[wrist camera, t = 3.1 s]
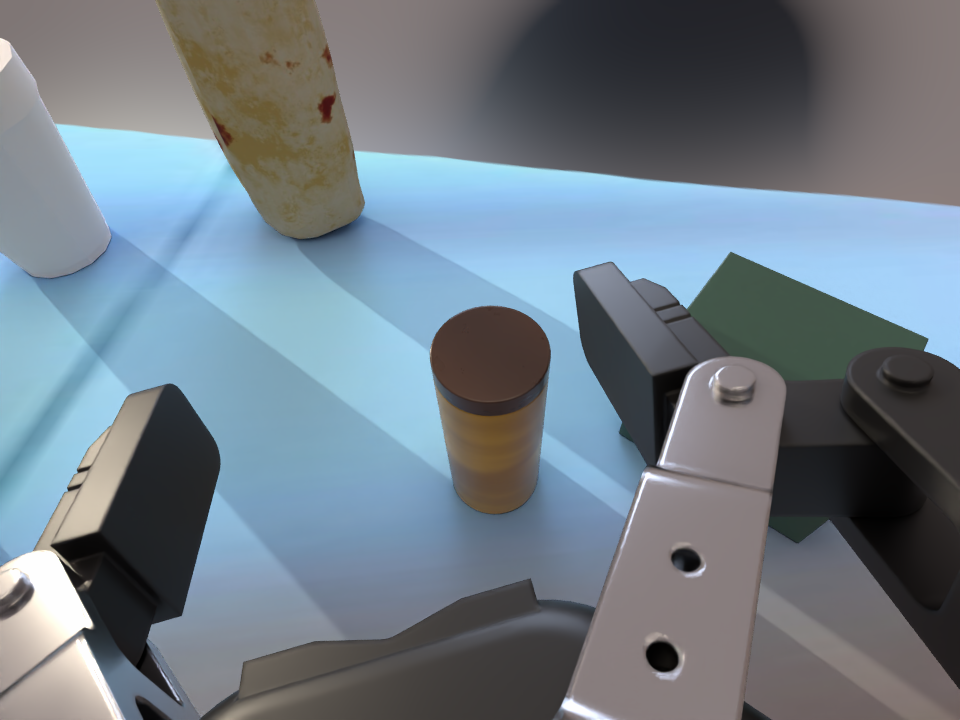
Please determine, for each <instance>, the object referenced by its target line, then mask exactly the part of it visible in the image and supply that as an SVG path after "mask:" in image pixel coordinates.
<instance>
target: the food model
mask: <svg viewBox="0 0 960 720" xmlns="http://www.w3.org/2000/svg"><path fill="white" fill-rule="evenodd" d="M155 1H156V4H157V6H158V8H159V11H160V13H161V16H162V18H163V21H164V23H165V25H166V28H167V30H168V33H169V35H170V38H171V40H172V42H173V45H174V47H175V49H176V52H177V54H178V56H179V59H180V61H181V63H182V66H183V68H184V70H185V72H186V75H187V77H188V79H189V82H190V84H191V86H192V88H193V90H194V92H195V95H196V97H197V99H198V101H199V103H200V105H201V107H202V110H203V112H204V114H205V116H206V118H207V120H208V122H209V124H210V127H211V129H212V130H213V132H214V135H215V137H216V139H217V141H218V143H219V145H220V147H221V149H222V151H223V153H224V154H225V156H226V158H227V160H228V162H229V164H230V166H231V168H232V169H233V171H234V172H235V174H236V176H237V177H238V179H239V181H240V182H241V184H242V185H243V187H244V188H245V189H246V191H247V192H248V194H249V196H250V198H251V200H252V202H253V204H254V205H255V207H256V208H257V210H258V211H259V213H260V214H261V216H262V217H263V219H264V220H265V222H266V223H268V224H269V225H270V226H271V227H273V228H274V229H275V230H276V231H278V232H279V233H280V234H282V235H285V236H289V237H294V238H298V239H305V238H314V237H318V236H321V235H323V234H326V233H328V232H331V231H333V230H335V229H337V228H340V227H342V226H344V225H347V224H349V223H351V222H352V221H354V220H356V219H357V218H358V217H359V216H360V214H361V212H362V210H363V208H364V204H365V201H364V197H363V194H362V191H361V187H360V184H359V179H358V174H357V167H356V161H355V155H354V149H353V144H352V141H351V136H350V132H349V128H348V124H347V120H346V117H345V113H344V109H343V106H342V102H341V98H340V94H339V90H338V86H337V81H336V77H335V72H334V67H333V63H332V59H331V55H330V51H329V47H328V43H327V39H326V36H325V32H324V29H323V25H322V22H321V18H320V15H319V11H318V8H317V5H316V2H315V0H155Z"/></svg>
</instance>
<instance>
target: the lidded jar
mask: <svg viewBox="0 0 960 720" xmlns="http://www.w3.org/2000/svg"><path fill="white" fill-rule="evenodd" d="M550 359H551V350H550V344H549V341H548V338H547V336H546V334H545V333H544V331H543V330H542V328H541V327H540V326H539V325H538V324H537V323H536V322H535V321H534V320H533V319H532V318H530V317H529V316H527V315H526V314H524V313H522V312H520V311H517V310H514V309H511V308H507V307H502V306H481V307H475V308H471V309H468V310H465V311H463V312H461V313H459V314H457V315H455V316H453V317H452V318H450V319H449V320H448V321H447V322H446V323H444V324H443V326H442V327H441V328H440V329H439V330H438V332H437V333H436V335H435V337H434V339H433V341H432V345H431V349H430V363H431V369H432V374H433V379H434V385H435V390H436V395H437V401H438V406H439V411H440V417H441V422H442V427H443V433H444V438H445V443H446V449H447V454H448V459H449V464H450V470H451V475H452V480H453V485H454V488H455V490H456V492H457V494H458V495H459V497H460V498H461V499H462V500H463V501H464V502H465V503H466V504H467V505H469V506H470V507H472V508H473V509H475V510H477V511H480V512H484V513H489V514H501V513H506V512H509V511H512V510H514V509H517V508H518V507H520V506H521V505H523V504H524V503H525V502H526V501H527V500H528V499H529V498H530V496H531V495H532V493H533V492H534V490H535V487H536V484H537V480H538V472H539V462H540V453H541V444H542V434H543V425H544V416H545V406H546V397H547V387H548V378H549V369H550Z"/></svg>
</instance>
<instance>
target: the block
mask: <svg viewBox="0 0 960 720" xmlns="http://www.w3.org/2000/svg"><path fill="white" fill-rule="evenodd" d="M687 310H688V312H689V313H690V314H691V317H694V318H695V319H696V320H697V321H698V322H699V323H700V324H701V325H702V326H703V327H704V328H705V329H706V330H707V331H708V332H709V334H710V335H711V336H712V337H713V338H714V339H715V340H716V341H717V342H718V343H719V344H720V345H721V346H722V347H723V348H724V349H725V350H726V351H727V352H728V353H729V354H730V356H733V357H744V358H749V359H753V360H757V361H759V362H762V363H764V364H766V365H768V366H770V367H772V368H773V369H774V370H776V371H777V372H778V373H779V374H780V375H781V376H782V378H783V380H789V381H805V380H825V379H844V378H845V373H846V369H847V366H848V363H849V362H850V361H851V359H852V358H853V357H855V356H856V355H858V354H860V353H862V352H864V351H867V350H870V349H875V348H881V347H903V348H911V349H917V350H921V351H924V349H925V346H926V344H927V342H928V338H926V337H924V336H921V335H919V334H917V333H914V332H912V331H910V330H908V329H905V328H903V327H901V326H898V325H896V324H894V323H892V322H889V321H887V320H885V319H883V318H880V317H878V316H876V315H873V314H871V313H869V312H867V311H864V310H862V309H860V308H857V307H855V306H853V305H851V304H848V303H846V302H844V301H842V300H839V299H837V298H835V297H832V296H830V295H828V294H826V293H823V292H821V291H819V290H816V289H814V288H812V287H810V286H807V285H805V284H803V283H801V282H798V281H796V280H794V279H791V278H789V277H787V276H785V275H782V274H780V273H778V272H776V271H773V270H771V269H769V268H766V267H764V266H762V265H760V264H757V263H755V262H753V261H750V260H748V259H746V258H744V257H741V256H739V255H737V254H735V253H732V252H730V253H729V254H728V256H727V257H726V258H725V260H724V261H723V262H722V264H721V265H720V266H719V268H718V269H717V270H716V271H715V273H714V274H713V275H712V277H711V278H710V279H709V281H708V282H707V283H706V285H705V286H704V287H703V289H702V290H701V291H700V293H699V294H698V295H697V297H696V298H695V299H694V301H693V302H692V303H691V304H690V306H689V307H688V308H687ZM619 434H621V435H622V436H624V437H626V438H627V439H629V440H631V441H632V442H634V441H633V439H632V438H631V436H630V434H629V433H628V431H627V429H626V427H625V426H624V424H623V422H622V425H621V428H620V431H619ZM827 520H829V518H828V517H769V523H768V525H769V526H770V527H772V528H774V529H775V530H777V531H779V532H780V533H782V534H783V535H785V536H787V537H788V538H790V539H792V540H793V541H795V542H796V543H799V542H800V541H802V540H803V539H804V538H806V537H807V536H808V535H809V534H811V533H812V532H813V531H815V530H816V529H817V528H818V527H820V526H821V525H822V524H824V523H825V522H826V521H827Z"/></svg>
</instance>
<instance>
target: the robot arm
mask: <svg viewBox="0 0 960 720" xmlns="http://www.w3.org/2000/svg"><path fill="white" fill-rule="evenodd" d="M573 283H574V291H575V299H576V307H577V315H578V323H579V330H580V338H581V343H582V347H583V350H584V353H585V356H586V359H587V361H588V364H589V366H590V367H591V369H592V371H593V373H594V374H595V376H596V378H597V379H598V381H599V383H600V385H601V386H602V388H603V390H604V391H605V393H606V395H607V397H608V398H609V400H610V402H611V403H612V405H613V407H614V409H615V410H616V412H617V414H618V415H619V417H620V419H621V421H622V422H623V424H624V426H625V427H626V429H627V431H628V433H629V434H630V436H631V438H632V439H633V441H634V443H635V445H636V446H637V448H638V450H639V451H640V453H641V455H642V457H643V458H644V460H645V462H646V463H647V466H646V468H645V469H644V471H643V474H642V476H641V479H640V481H639V484H638V487H637V490H636V493H635V496H634V499H633V502H632V505H631V508H630V511H629V513H628V516H627V519H626V522H625V525H624V528H623V531H622V534H621V537H620V540H619V543H618V545H617V548H616V551H615V554H614V557H613V560H612V563H611V566H610V569H609V572H608V575H607V577H606V580H605V583H604V586H603V589H602V592H601V595H600V598H599V601H598V604H597V606H596V608H594V607H591V606H589V605H584V604H580V603H575V602H571V601H561V600H537V599H536V595H535V592H534V588H533V585H532V581H531V578H530V579H527V580H523V581H520V582H517V583H513V584H510V585H506V586H503V587H499V588H496V589H493V590H489V591H486V592H482V593H479V594H475V595H472V596H468V597H465V598H462V599H459V600H458V601H456V602H454V603H452V604H451V605H449V606H447V607H445V608H444V609H442V610H440V611H438V612H436V613H435V614H433V615H431V616H429V617H428V618H426V619H424V620H422V621H421V622H419V623H417V624H415V625H413V626H412V627H410V628H408V629H406V630H405V631H403V632H401V633H399V634H397V635H396V636H393V637H391V638H388V639H381V640H346V641H314V642H311V643H307V644H304V645H300V646H297V647H294V648H290V649H287V650H283V651H280V652H276V653H273V654H270V655H266V656H263V657H259V658H256V659H252V660H249V661H246V662H243V668H242V675H241V681H240V688H239V690H238V691H236V692H234V693H233V694H231V695H230V696H229V697H227V698H226V699H224V700H223V701H221V702H220V703H219V704H217V705H216V706H215V707H213V708H212V709H211V710H210V711H209V712H208V713H206V714H205V715H204V716H203V717H202V718H201V717H200V716H199V714H198V713H197V711H196V710H195V708H194V706H193V705H192V703H191V701H190V700H189V698H188V697H187V695H186V693H185V692H184V690H183V689H182V687H181V685H180V684H179V682H178V681H177V679H176V677H175V676H174V674H173V673H172V671H171V669H170V668H169V666H168V665H167V663H166V661H165V660H164V658H163V657H162V655H161V653H160V652H159V650H158V649H157V647H156V646H155V645H154V644H153V643H152V642H151V641H150V640H149V639H148V638H147V637H148V634H149V631H150V627H151V624H155V623H158V622H162V621H165V620H169V619H172V618H176V617H179V616H182V613H183V609H184V605H185V601H186V598H187V594H188V590H189V586H190V582H191V578H192V575H193V571H194V567H195V563H196V559H197V555H198V552H199V548H200V544H201V540H202V536H203V532H204V529H205V525H206V521H207V517H208V513H209V509H210V505H211V502H212V498H213V494H214V490H215V486H216V482H217V479H218V475H219V471H220V454H219V450H218V447H217V444H216V442H215V440H214V438H213V437H212V435H211V434H210V432H209V431H208V429H207V428H206V426H205V425H204V423H203V422H202V421H201V419H200V418H199V416H198V415H197V413H196V412H195V410H194V409H193V407H192V406H191V404H190V403H189V401H188V400H187V398H186V397H185V396H184V394H183V393H182V391H181V390H180V389H179V388H178V387H177V386H175V385H174V384H165V385H162V386H158V387H154V388H151V389H147V390H144V391H140V392H136V393H133V394H130V395H129V396H127V398H126V399H125V401H124V403H123V405H122V407H121V409H120V411H119V413H118V415H117V417H116V419H115V420H114V422H113V424H112V426H109V427H108V428H107V429H106V430H105V432H104V433H103V434H102V435H101V436H100V437H99V438H98V439H97V440H96V441H95V442H94V443H93V444H92V445H91V446H90V447H89V448H88V450H87V452H86V454H85V456H84V457H83V459H82V461H81V463H80V465H79V467H78V468H77V471H78V473H77V474H74V476H73V478H72V480H71V481H70V483H69V485H68V487H67V489H68V492H65V493H64V494H63V496H62V498H61V500H60V502H59V504H58V505H57V507H56V509H55V511H54V513H53V515H52V517H51V518H50V520H49V522H48V524H47V526H46V528H45V530H44V531H43V533H42V535H41V537H40V539H39V541H38V542H37V544H36V546H35V548H34V550H33V552H30V553H27V554H24V555H21V556H19V557H17V558H14V559H13V560H11V561H9V562H7V563H5V564H4V565H2V566H1V567H0V720H771V719H770V718H768V717H767V716H765V715H764V714H762V713H761V712H759V711H758V710H756V709H755V708H753V707H752V706H750V705H749V704H747V703H746V702H745V701H744V696H745V689H746V682H747V674H748V667H749V660H750V653H751V645H752V638H753V631H754V624H755V617H756V609H757V602H758V595H759V588H760V580H761V573H762V566H763V559H764V552H765V544H766V537H767V530H768V523H769V517H828V518H829V519H830V520H831V521H832V523H833V524H834V525H835V527H836V528H837V529H838V531H839V532H840V533H841V535H842V536H843V537H844V539H845V540H846V541H847V542H848V544H849V545H850V546H851V548H852V549H853V550H854V552H855V553H856V554H857V556H858V557H859V558H860V560H861V561H862V562H863V563H864V565H865V566H866V567H867V569H868V570H869V571H870V573H871V574H872V575H873V577H874V578H875V579H876V580H877V582H878V583H879V584H880V586H881V587H882V588H883V590H884V591H885V592H886V594H887V595H888V596H889V598H890V599H891V600H892V601H893V603H894V604H895V605H896V607H897V608H898V609H899V611H900V612H901V613H902V615H903V616H904V617H905V619H906V620H907V621H908V622H909V624H910V625H911V626H912V628H913V629H914V630H915V632H916V633H917V634H918V636H919V637H920V638H921V640H922V641H923V642H924V643H925V645H926V646H927V647H928V649H929V650H930V651H931V653H932V654H933V655H934V657H935V658H936V659H937V660H938V662H939V663H940V664H941V666H942V667H943V668H944V670H945V671H946V672H947V674H948V675H949V676H950V678H951V679H952V680H953V681H954V683H955V684H956V685H957V687H958V688H959V689H960V369H959V368H958V367H956V366H955V365H953V364H952V363H950V362H949V361H947V360H945V359H943V358H941V357H939V356H937V355H934V354H931V353H928V352H925V351H921V350H917V349H911V348H903V347H881V348H875V349H870V350H867V351H864V352H862V353H860V354H858V355H856V356H855V357H853V358H852V359H851V361H850V362H849V363H848V366H847V369H846V373H845V378H844V379H825V380H805V381H789V380H783V378H782V376H781V375H780V374H779V373H778V372H777V371H776V370H774V369H773V368H772V367H770V366H768V365H766V364H764V363H762V362H759V361H757V360H753V359H749V358H744V357H733V356H730V354H729V353H728V352H727V351H726V350H725V349H724V348H723V347H722V346H721V345H720V344H719V343H718V342H717V341H716V340H715V339H714V338H713V337H712V336H711V335H710V334H709V332H708V331H707V330H706V329H705V328H704V327H703V326H702V325H701V324H700V323H699V322H698V321H697V320H696V319H695V318H694V317H691V314H690V313H689V312H688V310H687V309H686V308H685V307H684V306H683V305H680V303H679V301H678V300H677V299H676V298H675V297H674V296H673V295H672V294H671V293H670V292H669V291H668V290H667V288H665V287H663V286H661V285H658V284H656V283H654V282H651V281H649V280H647V279H644V278H643V279H639V280H635V281H632V282H630V281H629V280H628V279H627V278H626V277H625V276H624V274H623V273H622V272H621V271H620V270H619V269H618V267H617V266H616V265H615V264H614V263H613V262H607V263H603V264H600V265H596V266H593V267H589V268H585V269H582V270H578V271H575V272H574V275H573Z"/></svg>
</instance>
